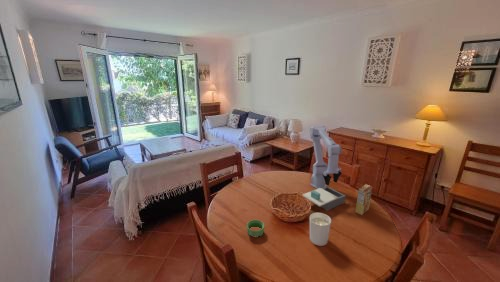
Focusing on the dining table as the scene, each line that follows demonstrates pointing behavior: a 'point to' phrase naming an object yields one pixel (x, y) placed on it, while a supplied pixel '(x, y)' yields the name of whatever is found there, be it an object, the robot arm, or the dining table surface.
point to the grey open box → (336, 202)
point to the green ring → (255, 224)
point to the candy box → (363, 199)
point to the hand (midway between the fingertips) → (331, 183)
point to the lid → (320, 196)
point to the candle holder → (319, 228)
